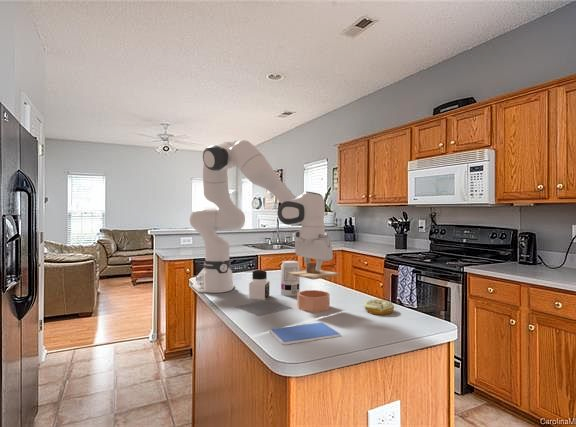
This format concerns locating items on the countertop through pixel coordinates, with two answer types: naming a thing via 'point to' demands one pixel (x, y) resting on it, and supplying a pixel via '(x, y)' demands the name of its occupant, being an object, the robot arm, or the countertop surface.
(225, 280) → the robot arm
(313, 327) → the tablet computer
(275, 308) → the mat
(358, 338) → the countertop surface
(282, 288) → the supplement can
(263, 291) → the medicine bottle
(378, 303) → the decorated donut
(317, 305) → the bowl
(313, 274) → the lid
